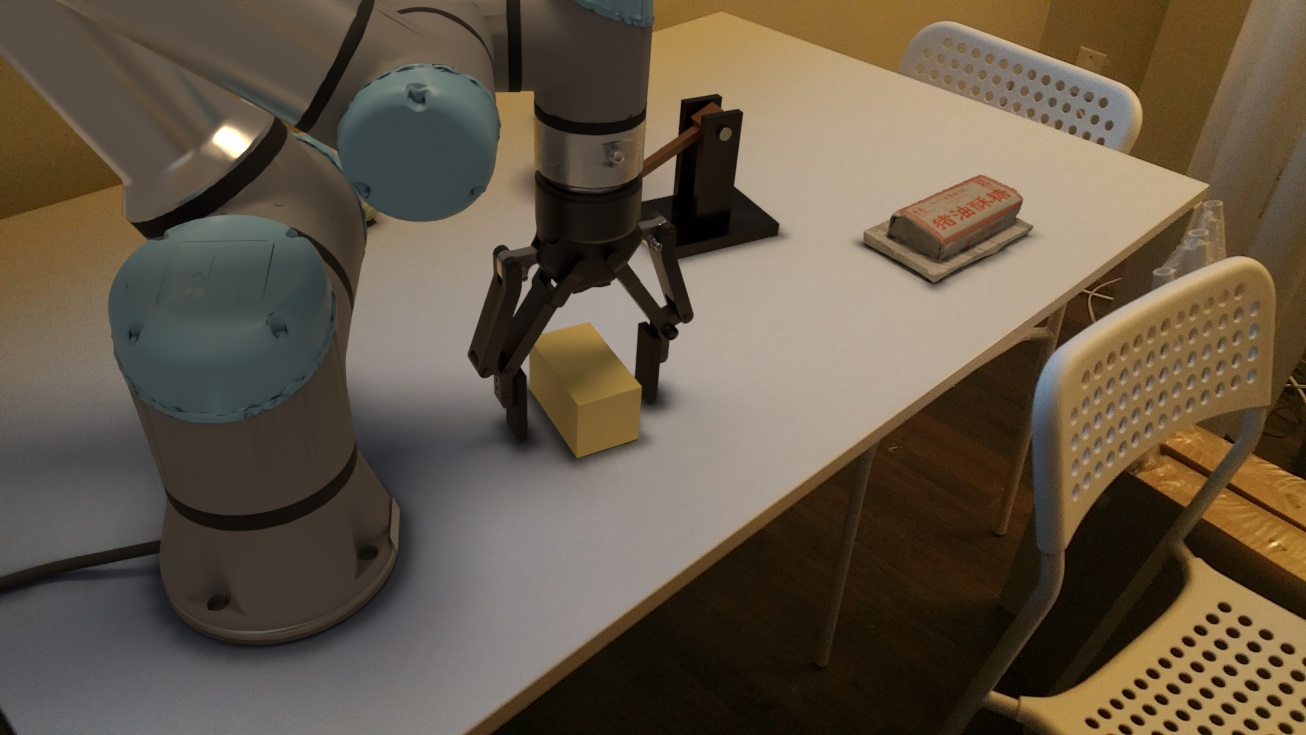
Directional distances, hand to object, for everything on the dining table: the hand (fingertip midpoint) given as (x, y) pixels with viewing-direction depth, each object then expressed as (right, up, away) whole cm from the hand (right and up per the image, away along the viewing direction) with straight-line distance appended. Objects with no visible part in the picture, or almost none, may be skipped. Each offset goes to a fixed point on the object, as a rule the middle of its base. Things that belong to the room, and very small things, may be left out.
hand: (583, 411), depth 82 cm
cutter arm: (+7, +24, +19) cm, 31 cm away
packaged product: (+38, +18, +27) cm, 50 cm away
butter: (0, 0, 0) cm, 0 cm away
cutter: (+11, +19, +26) cm, 34 cm away
